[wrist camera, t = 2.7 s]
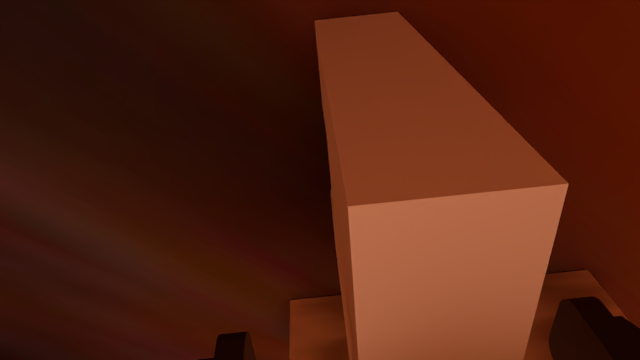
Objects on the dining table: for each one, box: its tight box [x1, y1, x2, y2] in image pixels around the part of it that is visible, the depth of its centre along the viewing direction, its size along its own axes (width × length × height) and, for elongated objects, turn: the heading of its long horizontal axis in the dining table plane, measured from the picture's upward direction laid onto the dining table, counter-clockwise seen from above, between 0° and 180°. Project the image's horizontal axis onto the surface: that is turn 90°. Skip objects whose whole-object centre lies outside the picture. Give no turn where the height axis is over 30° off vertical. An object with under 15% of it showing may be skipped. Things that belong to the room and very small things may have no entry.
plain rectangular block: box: [314, 12, 568, 360], centre depth 15 cm, size 3×12×13 cm, turn 5°
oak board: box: [289, 270, 629, 360], centre depth 25 cm, size 18×3×6 cm, turn 95°
